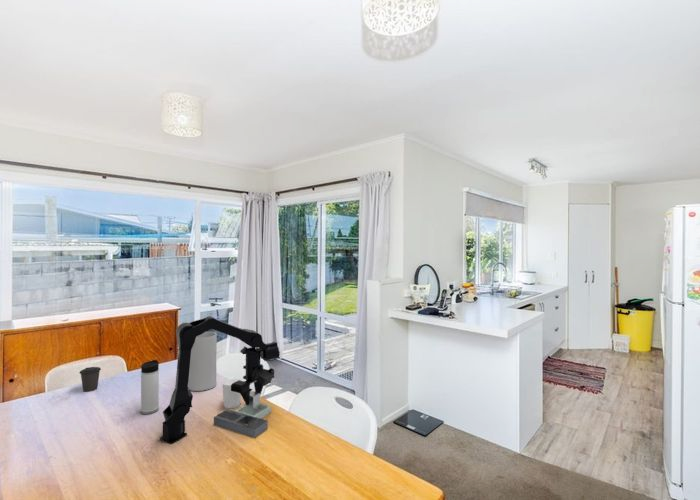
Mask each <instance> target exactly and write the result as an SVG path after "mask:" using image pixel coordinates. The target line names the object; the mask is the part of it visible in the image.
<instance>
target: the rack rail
mask: <svg viewBox="0 0 700 500" xmlns="http://www.w3.org/2000/svg"><path fill="white" fill-rule="evenodd" d="M246 424H247V425H246ZM268 424H269V420H266V419H264V418H262V419H260V418H257V417H253V416H250V415H246V414H243V413H239V412H236V410H231V409H230V408H226V410H223V411H222V412H220V413H218V414H216V415H215V416H214V417H213V426H215V427H219V428H222V429H225V430H228V431H231V432H234V433H238V434H241V435H245V436H247V437H250V438H255V439H256V438H257V437H259V436H260V435H262V433H264V432H265V431H266V430H268V428H269V425H268Z"/></svg>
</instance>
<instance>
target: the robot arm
mask: <svg viewBox="0 0 700 500" xmlns="http://www.w3.org/2000/svg"><path fill="white" fill-rule="evenodd" d="M209 330H214V331H217V332H220V333H222V334H225V335H227V336H230V337H233V338H234V339H235V338H236V339H238V340H240V341H241V342H243V343H244V344H246V345H248V347H247V346H244V347H243V348H242V349H241V350H240V351H239V352H240V353H241V354H242V355H245V365H243V366H242V367H243V368H242V369H244V370H245V375H243V377H242V379H243V380H245V381H243V380H242V381H240V380H239V381H237V382H234V383H233V384H232V385H231V391H233V392H237V393H240V394H241V398H242V399H243V401H244V404H245V403H246V405H249V398H250V392H252V391H253V388H251V386H250V385H252V384H253V386H254V392H258V393H260V396H261V394H262V391H263V389H264V387H265V386H267V385H268V384H271V382H272V379H274V378H275V369H274V368H268V369H266V368H264V365H263V364H262V363H261V360H263V361H264V362H266V361H271V360H276V359H279V358H280V356H281V355H280V354H281V353H280V349H279V346H278V342H276V341H272V342H268V343H265V342H264V341H263V336H262V334H260V333H259V332H257V331H256V330H252V329H248V328H241V327H240V328H239V327H237V326H236V325H235V326H234V325H232V324H231V323H230V324H229V323H227V322H225V321H222V320H219V319H217V318H215V317H213V316H211V315H209V316H206V317H204V318H201V319H197V320H194V321H190V322H183V323H181V324H179V325H178V326H177V327H176V330H175V331H176V332H175V333H176V339H177V340H176V341H177V346H178V354H177V366H176V376H175V387H174V390H173V392H172V394H171V397H170V401H169V405H168V406H166V408H165V409H164V410H163V411H162V414H163V417H164V421H163V422H162V436H161V437H159V440H160V441H162V442H165V443H168V444H174V443H175V442H178V441H179V440H181V439H183V438H185V437H186V436H188V433H187V432H186V420H185V417H186V416H187V414H189V413H190V411H191V410H190V409H191V408H193V405H192V403H193V398H194V395H193V394H192V390H190V389H189V388H188V380H189V369H190V358H191V350H192V347H193V345H194V343H195V339H196V336H199V335H201V334H203V333H204V332H209Z"/></svg>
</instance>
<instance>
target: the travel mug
mask: <svg viewBox="0 0 700 500" xmlns="http://www.w3.org/2000/svg"><path fill="white" fill-rule="evenodd" d="M159 366H160V365H159V361H158V359H152V360H149V361H146V362H144V363H142V364H141V368H140V371H141V372H140V413H141V414H142V415H152V414H155V413H156V412H158V411H159V409H160V406H159V404H160V397H159V393H160V391H159V390H160V383H159V382H160V381H159V380H160V369H159Z"/></svg>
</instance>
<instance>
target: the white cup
mask: <svg viewBox="0 0 700 500" xmlns="http://www.w3.org/2000/svg"><path fill="white" fill-rule="evenodd" d="M239 380H240V381H243V380H242V379H241V378H238V377H236V378H235V377H233V378H227V379H226V380H223V381H222V397H223V407H224V408H226V409H235V408H238V407H240V406H241V403H242V402H241V400H242V396H241V394H240V393H237V392H233V391H231V385H232V384H233V383H234V382H237V381H239Z"/></svg>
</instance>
